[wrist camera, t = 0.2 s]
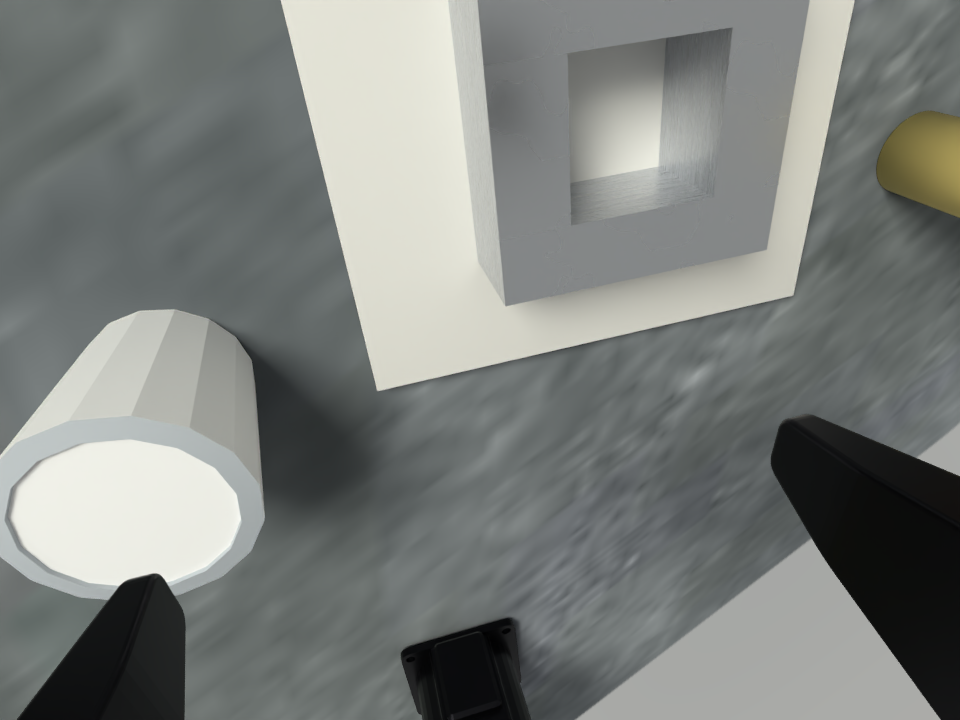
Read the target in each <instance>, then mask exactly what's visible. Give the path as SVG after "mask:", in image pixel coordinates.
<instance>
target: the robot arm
mask: <svg viewBox="0 0 960 720" xmlns="http://www.w3.org/2000/svg"><path fill="white" fill-rule="evenodd" d="M771 466H772V470H773V472H774V474H775V476H776V478H777V480H778V481H779V483H780V485H781V487H782V488H783V490H784V492H785V493H786V495H787V497H788V498H789V500H790V502H791V504H792V505H793V507H794V509H795V510H796V512H797V514H798V516H799V517H800V519H801V521H802V522H803V524H804V526H805V527H806V529H807V531H808V533H809V534H810V536H811V538H812V539H813V541H814V543H815V545H816V546H817V548H818V549H819V551H820V552H821V554H822V556H823V557H824V559H825V560H826V562H827V563H828V565H829V566H830V568H831V569H832V571H833V572H834V573H835V575H836V576H837V578H838V579H839V580H840V582H841V583H842V584H843V586H844V587H845V588H846V590H847V591H848V593H849V594H850V595H851V597H852V598H853V600H854V601H855V602H856V604H857V605H858V606H859V608H860V609H861V611H862V612H863V613H864V615H865V616H866V618H867V619H868V620H869V621H870V623H871V624H872V626H873V627H874V628H875V630H876V631H877V633H878V634H879V635H880V637H881V638H882V639H883V641H884V642H885V643H886V645H887V646H888V648H889V649H890V650H891V652H892V653H893V655H894V656H895V657H896V659H897V660H898V662H899V663H900V664H901V665H902V667H903V668H904V670H905V671H906V673H907V674H908V675H909V677H910V678H911V679H912V681H913V682H914V683H915V685H916V686H917V688H918V689H919V690H920V692H921V693H922V695H923V696H924V697H925V698H926V700H927V701H928V703H929V704H930V706H931V707H932V708H933V710H934V711H935V712H936V714H937V715H938V716H939V718H940V719H941V720H960V476H958V475H956V474H953V473H951V472H948V471H946V470H944V469H941V468H939V467H936V466H934V465H932V464H929V463H927V462H924V461H922V460H920V459H917V458H915V457H912V456H910V455H908V454H905V453H903V452H900V451H898V450H896V449H893V448H891V447H888V446H886V445H884V444H881V443H879V442H876V441H874V440H872V439H869V438H867V437H864V436H862V435H860V434H857V433H855V432H852V431H850V430H848V429H845V428H843V427H840V426H838V425H836V424H833V423H831V422H828V421H826V420H824V419H821V418H819V417H816V416H814V415H809V414H805V415H800V416H796V417H792V418H788V419H785V420H783V421H782V423H781V424H780V426H779V429H778V432H777V436H776V440H775V443H774V447H773V451H772V454H771ZM185 630H186V627H185V617H184V613H183V610H182V608H181V606H180V604H179V602H178V601H177V599H176V597H175V596H174V594H173V593H172V591H171V589H170V588H169V586H168V584H167V583H166V581H165V579H164V578H163V577H162V576H161V575H160V574H157V573H152V574H148V575H143V576H139V577H135V578H131V579H128V580H126V581H124V582H123V583H122V584H121V585H120V586H119V587H118V588H117V589H116V591H115V592H114V593H113V595H112V596H111V597H110V598H109V600H108V601H107V602H106V604H105V605H104V606H103V608H102V609H101V610H100V611H99V613H98V614H97V615H96V617H95V618H94V619H93V621H92V622H91V623H90V625H89V626H88V627H87V628H86V630H85V631H84V632H83V634H82V635H81V636H80V638H79V639H78V640H77V642H76V643H75V644H74V645H73V647H72V648H71V649H70V651H69V652H68V653H67V655H66V656H65V657H64V658H63V660H62V661H61V662H60V664H59V665H58V666H57V668H56V669H55V670H54V672H53V673H52V674H51V675H50V677H49V678H48V679H47V681H46V682H45V683H44V685H43V686H42V687H41V689H40V690H39V691H38V692H37V694H36V695H35V696H34V698H33V699H32V700H31V702H30V703H29V704H28V705H27V707H26V708H25V709H24V711H23V712H22V713H21V715H20V716H19V717H18V719H17V720H184V714H185ZM401 661H402V665H403V668H404V671H405V674H406V677H407V680H408V683H409V687H410V690H411V693H412V696H413V699H414V702H415V705H416V709H417V712H418V713H419V714H421V715H422V720H531V718H530V714H529V711H528V708H527V705H526V702H525V698H524V695H523V692H522V689H521V686H520V683H521V674H520V666H519V658H518V649H517V641H516V633H515V627H514V624H513V622H512V620H510V619H505V620H501V621H498V622H494V623H491V624H488V625H484V626H481V627H477V628H474V629H471V630H467V631H464V632H460V633H457V634H454V635H450V636H447V637H443V638H440V639H437V640H433V641H430V642H426V643H423V644H420V645H416V646H413V647H409V648H407V649H404V650H403V651H402V652H401Z"/></svg>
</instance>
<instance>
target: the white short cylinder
mask: <svg viewBox="0 0 960 720" xmlns="http://www.w3.org/2000/svg"><path fill="white" fill-rule="evenodd" d="M264 520H265V514H264V500H263V486H262V472H261V459H260V445H259V431H258V417H257V403H256V389H255V380H254V373H253V366H252V360H251V358H250V357H249V355H248V354H247V353H246V351H245V350H244V348H243V347H242V345H241V344H240V342H239V341H238V339H237V338H236V337H235V336H234V335H232V334H231V333H229V332H228V331H226V330H225V329H223V328H222V327H221V326H219V325H218V324H216V323H215V322H213V321H212V320H210V319H208V318H204V317H201V316H197V315H194V314H190V313H187V312H183V311H179V310H176V309H172V310H147V311H138V312H135V313H133V314H131V315H128V316H126V317H123V318H121V319H118V320H116V321H113V322H111V323H109V324H108V325H107V326H106V327H105V328H104V329H103V330H102V331H101V332H100V333H99V334H98V335H97V336H96V338H95V339H94V340H93V341H92V342H91V343H90V344H89V345H88V346H87V347H86V349H85V350H84V351H83V353H82V354H81V355H80V356H79V358H78V359H77V360H76V361H75V363H74V364H73V365H72V366H71V368H70V369H69V370H68V371H67V373H66V374H65V375H64V376H63V378H62V379H61V380H60V381H59V383H58V384H57V385H56V386H55V388H54V389H53V390H52V391H51V393H50V394H49V395H48V396H47V398H46V399H45V400H44V401H43V403H42V404H41V405H40V406H39V408H38V409H37V410H36V411H35V413H34V414H33V415H32V416H31V418H30V419H29V420H28V421H27V423H26V424H25V425H24V426H23V428H22V429H21V430H20V431H19V433H18V434H17V435H16V437H15V438H14V439H13V440H12V442H11V443H10V444H9V445H8V447H7V448H6V449H5V450H4V452H3V453H2V454H1V455H0V557H1V558H3V559H4V560H5V561H6V562H8V563H9V564H10V565H12V566H13V567H14V568H16V569H17V570H18V571H20V572H21V573H22V574H24V575H25V576H26V577H27V578H29V579H30V580H31V581H34V582H37V583H40V584H43V585H46V586H48V587H51V588H54V589H57V590H60V591H63V592H66V593H69V594H71V595H74V596H77V597H82V598H94V599H105V600H109V598H110V597H111V596H112V595H113V593H114V592H115V591H116V589H117V588H118V587H119V586H120V585H121V584H122V583H123V582H124V581H126V580H128V579H131V578H135V577H139V576H143V575H148V574H152V573H157V574H160V575H161V576H162V577H163V578H164V579H165V581H166V583H167V584H168V586H169V588H170V589H171V591H172V593H173V594H174V595H180V594H183V593H185V592H187V591H190V590H192V589H195V588H197V587H199V586H202V585H204V584H206V583H209V582H211V581H213V580H216V579H218V578H221V577H222V576H223V575H225V574H226V573H227V572H228V571H229V570H230V569H231V568H233V567H234V566H235V565H236V564H237V563H238V562H239V561H241V560H242V559H243V558H244V557H245V556H246V555H247V554H248V553H250V552H251V550H252V548H253V546H254V543H255V541H256V539H257V536H258V534H259V532H260V529H261V527H262V525H263V523H264Z"/></svg>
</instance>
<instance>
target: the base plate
mask: <svg viewBox="0 0 960 720" xmlns="http://www.w3.org/2000/svg"><path fill="white" fill-rule="evenodd" d="M854 1H855V0H810V2H809V8H808V14H807V19H806V25H805V31H804V37H803V43H802V48H801V54H800V60H799V66H798V72H797V77H796V83H795V89H794V95H793V101H792V106H791V112H790V118H789V124H788V130H787V135H786V141H785V147H784V153H783V159H782V165H781V170H780V176H779V182H778V188H777V194H776V199H775V205H774V211H773V217H772V223H771V228H770V234H769V240H768V246H767V250H764V251H760V252H755V253H750V254H746V255H741V256H736V257H732V258H727V259H723V260H718V261H713V262H709V263H704V264H699V265H695V266H690V267H686V268H681V269H676V270H672V271H667V272H662V273H658V274H653V275H649V276H644V277H639V278H635V279H630V280H625V281H621V282H616V283H612V284H607V285H602V286H598V287H593V288H589V289H584V290H579V291H575V292H570V293H565V294H561V295H556V296H552V297H547V298H542V299H538V300H533V301H528V302H524V303H519V304H515V305H510V306H505V305H504V303H503V302H502V300H501V299H500V297H499V295H498V294H497V292H496V290H495V289H494V287H493V285H492V284H491V282H490V281H489V279H488V277H487V276H486V274H485V272H484V271H483V269H482V267H481V266H480V264H479V263H478V257H477V249H476V240H475V231H474V222H473V214H472V205H471V196H470V187H469V179H468V170H467V161H466V152H465V144H464V135H463V126H462V118H461V109H460V100H459V91H458V83H457V74H456V65H455V56H454V48H453V39H452V30H451V21H450V13H449V4H448V0H281V3H282V7H283V11H284V15H285V19H286V23H287V27H288V31H289V35H290V39H291V43H292V47H293V51H294V55H295V59H296V63H297V67H298V71H299V75H300V79H301V84H302V88H303V92H304V96H305V100H306V104H307V108H308V112H309V116H310V120H311V124H312V128H313V132H314V136H315V140H316V144H317V148H318V152H319V156H320V160H321V164H322V169H323V173H324V177H325V181H326V185H327V189H328V193H329V197H330V201H331V205H332V209H333V213H334V217H335V221H336V225H337V229H338V233H339V237H340V241H341V245H342V250H343V254H344V258H345V262H346V266H347V270H348V274H349V278H350V282H351V286H352V290H353V294H354V298H355V302H356V306H357V310H358V314H359V318H360V322H361V326H362V330H363V335H364V339H365V343H366V347H367V351H368V355H369V359H370V363H371V367H372V371H373V375H374V379H375V383H376V387H377V391H380V390H385V389H389V388H393V387H398V386H402V385H406V384H411V383H415V382H419V381H424V380H428V379H432V378H437V377H441V376H445V375H450V374H454V373H459V372H463V371H467V370H472V369H476V368H480V367H485V366H489V365H493V364H498V363H502V362H506V361H511V360H515V359H519V358H524V357H528V356H532V355H537V354H541V353H545V352H550V351H554V350H558V349H563V348H567V347H572V346H576V345H580V344H585V343H589V342H593V341H598V340H602V339H606V338H611V337H615V336H619V335H624V334H628V333H632V332H637V331H641V330H645V329H650V328H654V327H658V326H663V325H667V324H671V323H676V322H680V321H685V320H689V319H693V318H698V317H702V316H706V315H711V314H715V313H719V312H724V311H728V310H732V309H737V308H741V307H745V306H750V305H754V304H758V303H763V302H767V301H771V300H776V299H780V298H784V297H789V296H793V294H794V289H795V285H796V280H797V275H798V270H799V265H800V261H801V256H802V251H803V246H804V241H805V236H806V232H807V227H808V222H809V217H810V212H811V208H812V203H813V198H814V193H815V188H816V184H817V179H818V174H819V169H820V164H821V160H822V155H823V150H824V145H825V140H826V135H827V131H828V126H829V121H830V116H831V111H832V107H833V102H834V97H835V92H836V87H837V83H838V78H839V73H840V68H841V63H842V58H843V54H844V49H845V44H846V39H847V34H848V30H849V25H850V20H851V15H852V10H853V6H854ZM665 48H666V38H662V39H655V40H649V41H642V42H636V43H630V44H623V45H617V46H610V47H604V48H598V49H591V50H585V51H578V52H572V53H568V95H569V144H570V183H573V182H579V181H584V180H589V179H595V178H600V177H605V176H611V175H616V174H621V173H626V172H632V171H637V170H642V169H648V168H653V167H658V164H659V148H660V131H661V114H662V98H663V81H664V64H665Z"/></svg>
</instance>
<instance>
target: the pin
mask: <svg viewBox="0 0 960 720" xmlns="http://www.w3.org/2000/svg"><path fill="white" fill-rule="evenodd" d="M877 178H878V181H879V183H880V185H881V186H882V187H883V188H884V189H886V190H888V191H891V192H893V193H896V194H898V195H901V196H904V197H906V198H909V199H911V200H914V201H917V202H919V203H922V204H925V205H927V206H930V207H932V208H935V209H938V210H940V211H943V212H945V213H948V214H951V215H953V216H956V217H959V218H960V117H956V116H952V115H948V114H943V113H939V112H935V111H924V112H920V113H917V114H915V115H913V116H911V117H909V118H908V119H906V120H905V121H904V122H902V123H901V124H900V125H899V126H898V127H897V128H896V129H895V130H894V131H893V132H892V134H891V135H890V136H889V138H888V139H887V141H886V142H885V144H884V146H883V148H882V150H881V152H880V155H879V158H878V162H877Z"/></svg>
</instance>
